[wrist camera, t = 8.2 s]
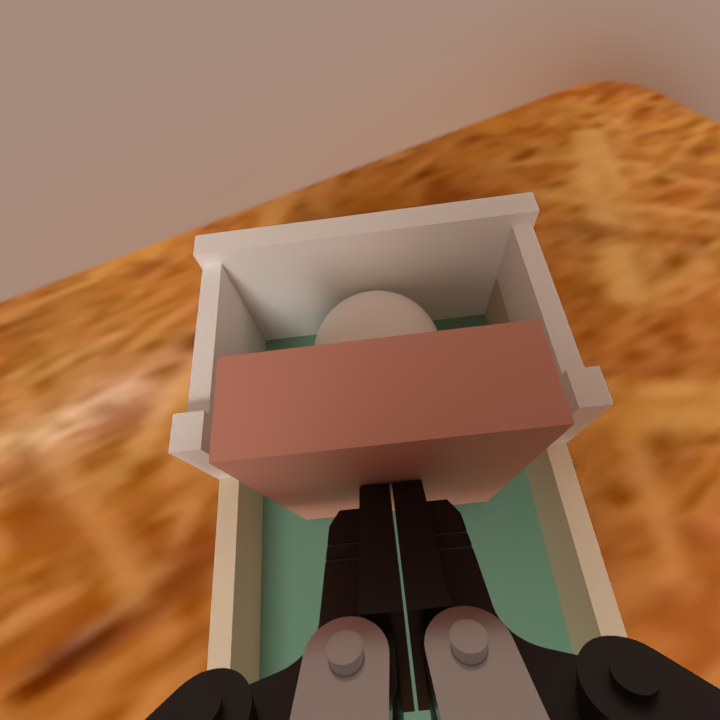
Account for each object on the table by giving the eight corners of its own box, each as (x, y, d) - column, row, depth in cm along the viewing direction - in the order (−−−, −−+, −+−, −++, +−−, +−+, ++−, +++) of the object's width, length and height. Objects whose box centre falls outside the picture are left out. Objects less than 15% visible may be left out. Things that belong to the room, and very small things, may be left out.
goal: (543, 461, 15) (614, 404, 10) (243, 492, 15) (168, 452, 10) (497, 296, 18) (532, 191, 13) (250, 326, 18) (195, 235, 13)
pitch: (708, 1078, 9) (858, 1325, 6) (229, 1099, 10) (149, 1341, 7) (494, 309, 19) (513, 256, 16) (255, 338, 19) (227, 292, 16)
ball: (275, 306, 14) (300, 415, 16) (375, 337, 11) (390, 465, 13) (367, 266, 16) (378, 365, 18) (467, 282, 14) (467, 397, 16)
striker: (486, 501, 14) (574, 424, 7) (306, 519, 14) (209, 462, 7) (474, 442, 15) (539, 318, 8) (304, 460, 15) (217, 357, 8)
